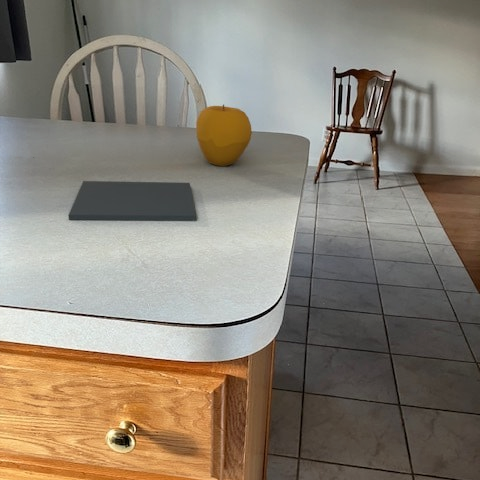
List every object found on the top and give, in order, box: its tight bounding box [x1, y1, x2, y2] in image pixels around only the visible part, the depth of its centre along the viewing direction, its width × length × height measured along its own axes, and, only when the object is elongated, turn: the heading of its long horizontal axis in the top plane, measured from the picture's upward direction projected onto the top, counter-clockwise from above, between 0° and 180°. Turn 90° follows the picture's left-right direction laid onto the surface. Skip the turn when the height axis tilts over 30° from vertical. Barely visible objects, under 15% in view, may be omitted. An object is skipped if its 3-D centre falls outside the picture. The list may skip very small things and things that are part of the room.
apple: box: [195, 104, 253, 167], centre depth 84 cm, size 8×8×9 cm
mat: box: [68, 180, 197, 222], centre depth 66 cm, size 14×14×1 cm
